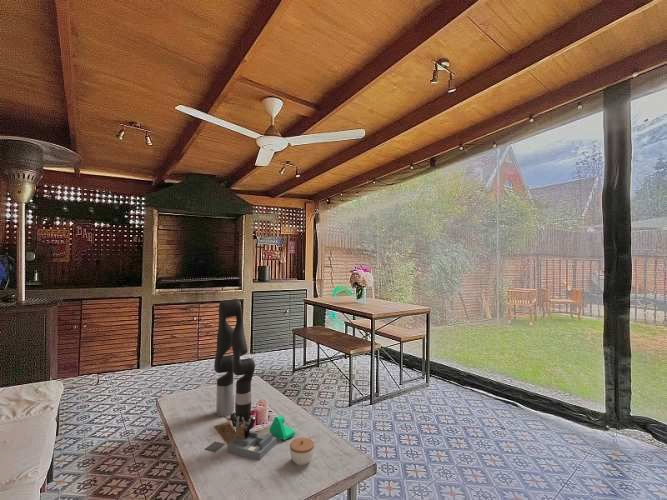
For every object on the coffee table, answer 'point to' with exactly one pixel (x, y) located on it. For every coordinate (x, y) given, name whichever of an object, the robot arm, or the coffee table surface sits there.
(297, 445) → the lidded jar
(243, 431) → the block
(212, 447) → the mat
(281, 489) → the coffee table surface
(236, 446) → the rail board
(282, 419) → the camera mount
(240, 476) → the coffee table surface
